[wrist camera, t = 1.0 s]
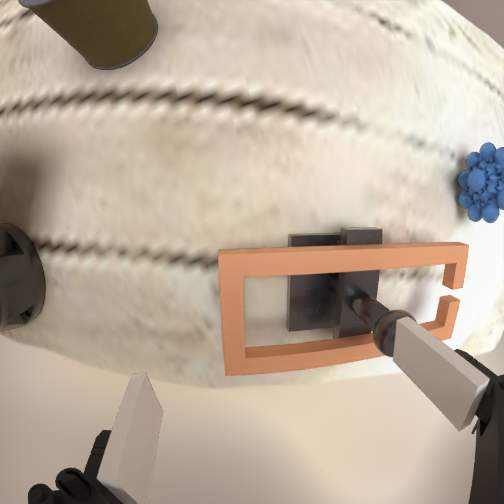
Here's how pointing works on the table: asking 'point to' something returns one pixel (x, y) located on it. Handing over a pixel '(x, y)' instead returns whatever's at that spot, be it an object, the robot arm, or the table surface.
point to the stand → (341, 294)
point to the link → (315, 262)
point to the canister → (100, 28)
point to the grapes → (483, 183)
